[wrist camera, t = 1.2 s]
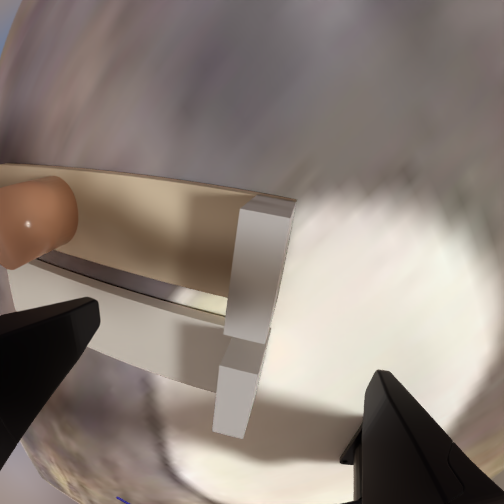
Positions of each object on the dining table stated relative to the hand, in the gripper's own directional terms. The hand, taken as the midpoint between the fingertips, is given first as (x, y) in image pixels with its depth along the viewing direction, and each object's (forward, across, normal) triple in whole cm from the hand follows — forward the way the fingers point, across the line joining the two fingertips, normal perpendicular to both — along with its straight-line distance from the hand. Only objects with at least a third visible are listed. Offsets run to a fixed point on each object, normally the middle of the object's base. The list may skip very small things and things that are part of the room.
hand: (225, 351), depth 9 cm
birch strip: (+9, +11, 0) cm, 14 cm away
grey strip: (+9, +11, +8) cm, 17 cm away
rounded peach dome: (+8, +15, 0) cm, 17 cm away
